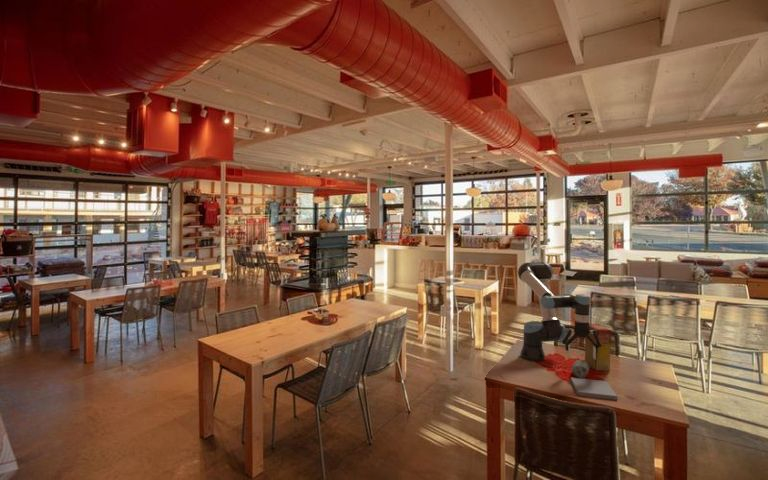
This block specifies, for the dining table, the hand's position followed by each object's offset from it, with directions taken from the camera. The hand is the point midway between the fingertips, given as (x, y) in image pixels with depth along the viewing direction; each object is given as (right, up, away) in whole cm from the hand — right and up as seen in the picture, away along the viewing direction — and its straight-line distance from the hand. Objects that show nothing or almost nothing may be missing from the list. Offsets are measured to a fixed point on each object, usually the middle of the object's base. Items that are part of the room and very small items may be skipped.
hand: (581, 357), depth 218 cm
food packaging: (+17, -10, +14) cm, 24 cm away
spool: (0, -11, +1) cm, 11 cm away
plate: (-3, -12, -18) cm, 22 cm away
